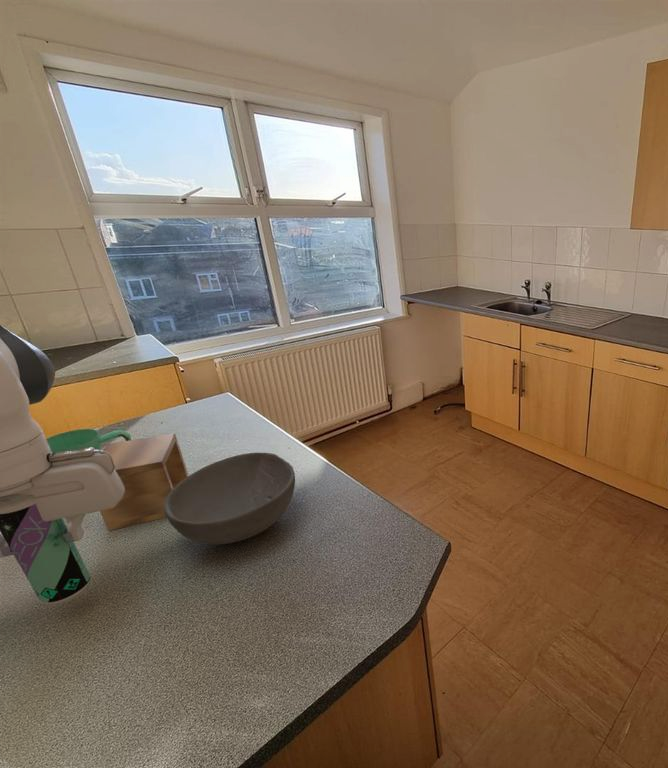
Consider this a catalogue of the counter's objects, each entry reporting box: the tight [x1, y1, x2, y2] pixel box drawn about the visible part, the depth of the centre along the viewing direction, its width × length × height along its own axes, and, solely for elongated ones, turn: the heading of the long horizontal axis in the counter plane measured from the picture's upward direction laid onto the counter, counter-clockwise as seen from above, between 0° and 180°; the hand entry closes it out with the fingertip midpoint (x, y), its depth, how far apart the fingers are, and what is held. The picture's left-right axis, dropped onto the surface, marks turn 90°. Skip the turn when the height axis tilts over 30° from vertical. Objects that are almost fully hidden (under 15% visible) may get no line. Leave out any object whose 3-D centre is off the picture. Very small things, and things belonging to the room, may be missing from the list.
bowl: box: [164, 452, 296, 545], centre depth 80 cm, size 20×20×10 cm
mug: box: [46, 428, 132, 454], centre depth 94 cm, size 15×10×10 cm
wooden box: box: [99, 432, 190, 531], centre depth 85 cm, size 11×12×12 cm
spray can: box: [0, 494, 93, 607], centre depth 59 cm, size 6×6×20 cm
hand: (43, 546), depth 60 cm, fingers closed on spray can, 5 cm apart
